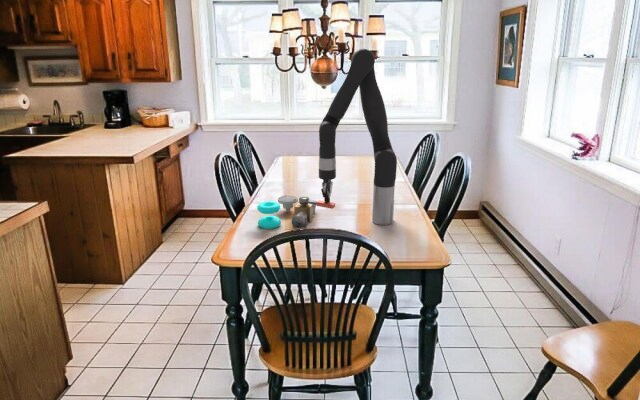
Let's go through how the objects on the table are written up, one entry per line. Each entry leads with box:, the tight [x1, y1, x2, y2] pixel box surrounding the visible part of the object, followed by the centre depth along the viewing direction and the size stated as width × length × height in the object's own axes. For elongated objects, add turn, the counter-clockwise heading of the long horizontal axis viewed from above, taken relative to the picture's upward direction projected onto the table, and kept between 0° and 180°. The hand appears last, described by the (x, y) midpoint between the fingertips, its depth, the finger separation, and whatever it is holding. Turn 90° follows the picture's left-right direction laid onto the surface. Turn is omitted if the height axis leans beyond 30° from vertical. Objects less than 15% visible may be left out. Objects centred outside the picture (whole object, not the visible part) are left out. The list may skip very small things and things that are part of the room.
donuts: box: [256, 200, 282, 230], centre depth 205 cm, size 10×10×10 cm
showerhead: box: [277, 194, 299, 213], centre depth 223 cm, size 9×7×10 cm
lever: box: [298, 196, 336, 210], centre depth 208 cm, size 17×4×2 cm, turn 62°
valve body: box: [291, 201, 317, 229], centre depth 212 cm, size 7×22×8 cm, turn 168°
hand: (327, 204), depth 209 cm, fingers closed
